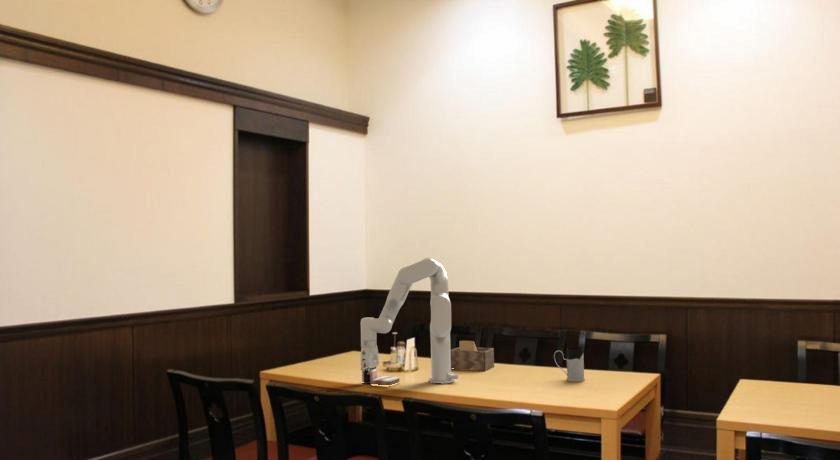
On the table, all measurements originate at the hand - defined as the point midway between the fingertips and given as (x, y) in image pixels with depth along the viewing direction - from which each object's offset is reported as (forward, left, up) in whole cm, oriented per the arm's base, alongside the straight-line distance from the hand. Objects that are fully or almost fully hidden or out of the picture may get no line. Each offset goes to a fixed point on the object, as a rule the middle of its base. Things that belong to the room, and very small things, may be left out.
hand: (369, 381), depth 320 cm
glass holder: (-87, -41, -1) cm, 96 cm away
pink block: (0, 0, -1) cm, 1 cm away
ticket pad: (-9, 0, -1) cm, 9 cm away
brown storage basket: (-31, -56, -1) cm, 64 cm away
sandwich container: (-30, -57, -1) cm, 64 cm away
